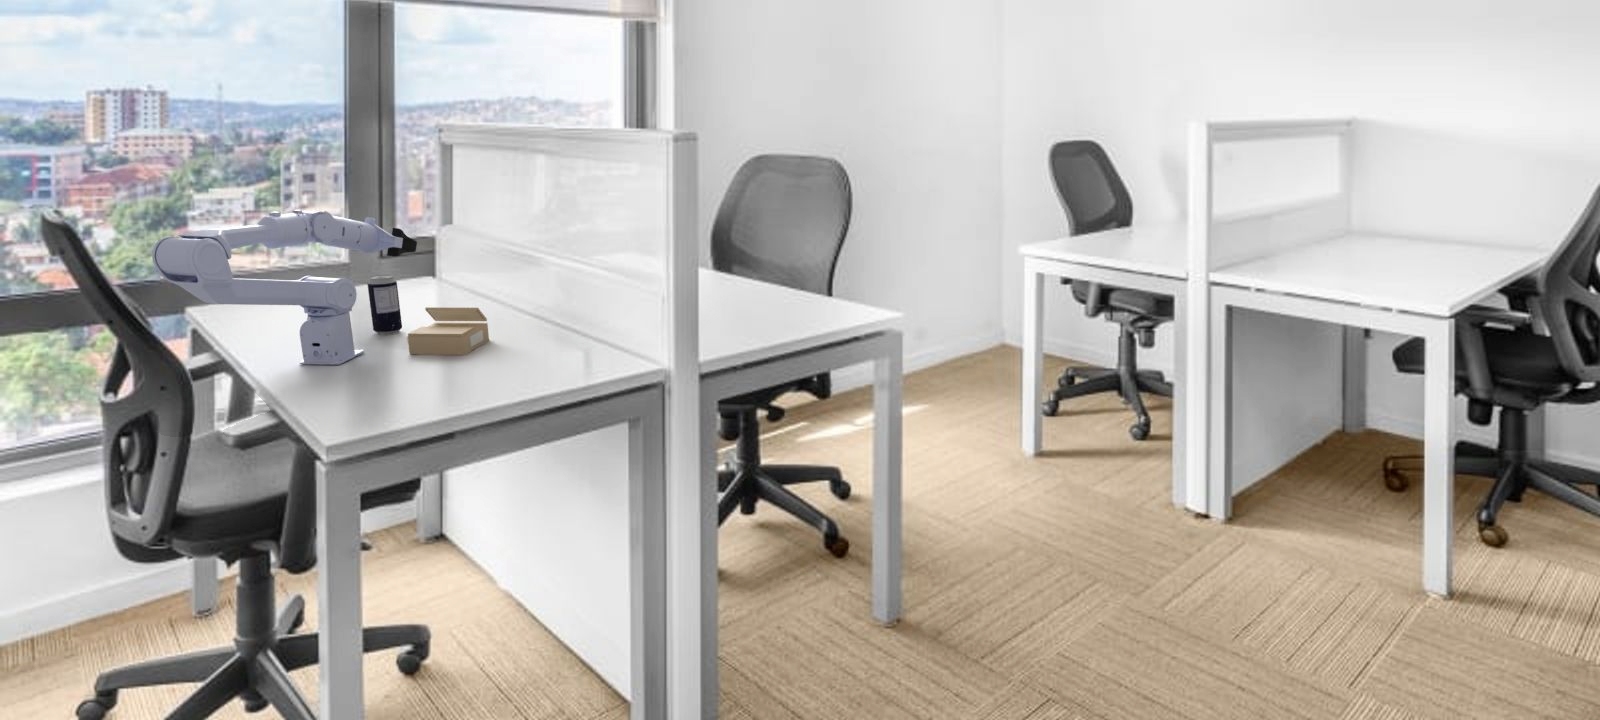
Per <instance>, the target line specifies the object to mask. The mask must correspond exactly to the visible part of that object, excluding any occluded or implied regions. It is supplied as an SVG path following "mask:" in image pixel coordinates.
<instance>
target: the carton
mask: <svg viewBox="0 0 1600 720" xmlns="http://www.w3.org/2000/svg"><path fill="white" fill-rule="evenodd" d="M489 335H490V334H489V325H488V322H434V323H431V324H430V325H427V326H420V327H418V328H416V329H414V330H412V331H410V332H408V333H407V343H408V350H409V355H410V354H422V355H424V356H425V355H429V356H430V355H432V356H434V355H435V356H437V355H438V356H466V355H467V354H469V353H470V352H472V351H474V350H475V349H477V348H478V347H480V346H482V345H484V344H485V343H486V342H487V343H488V341H490V337H489Z"/></svg>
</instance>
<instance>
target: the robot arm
mask: <svg viewBox="0 0 1600 720" xmlns="http://www.w3.org/2000/svg"><path fill="white" fill-rule="evenodd" d="M177 236H178V237H176V236H165V237H163V238H161V239H159V240H158V241H157V242H156V243H155V244H154V246H153V248H152V252H151V253H152V254H151V258H152V259H151V260H152V263H153V265H154V266H155V268H156V270H157V271H158V272H159V274H160V276H161V277H162V279H163V280H165V281H167V282H170V283H172V284H174V285H177V286H179V287H180V288H182V289H184V290H185V291H186V292H188V293H190V294H191V295H193V297H195V298H198V299H199V300H200V301H202V302H203V303H207V304H211V305H213V304H214V305H237V306H238V305H241V306H242V305H245V306H247V305H248V306H249V305H250V306H251V305H252V306H253V305H254V306H255V305H256V306H266V305H267V306H274V305H275V306H299V307H301V308H302V309H303V312H304V314H307V319H306V320H305V321H304V322H303V323H302V324H301V326H300V329H299V339H300V340H299V341H300V344H301V353H302V358H303V359H302V360H300V361H299V365H342V364H343V363H345V362H348V361H349V360H352V359H353V358H355V357H358V356H359V355H361V354H364V353H365V350H364V349H355V345H354V339H353V338H354V337H353V329H352V322H351V315H350V312H353V307H354V306H355V304H356V302H357V295H358V294H357V288H356V286H355V284H354V283H353V281H352V280H350V279H348V278H346V277H338V278H337V277H336V278H335V277H319V276H312V275H305V276H302V277H301V278H299V279H296V280H295V279H293V280H292V279H291V280H287V279H266V278H265V279H263V278H261V279H260V278H236V277H235V278H234V275H233V274H232V269H231V266H230V262H229V260H231V258H232V249H234V250H235V249H237V248H238V249H239V248H243V247H248V246H253V245H259V244H262V246H264V247H265V248H268V249H271V250H274V249H279V248H286V247H293V246H300V245H304V244H305V243H313V244H314V243H317V244H322V245H325V246H328V247H334V248H340V249H345V250H349V251H350V250H352V251H354V252H360V253H362V254H373V253H376V252H380V251H383V250H387V253H386V256H388V257H400V256H401V255H403V254H406V253H414V252H416V251H417V246H418V245H417V244H418V241H417V240H415V239H414V238H411V237H409V236H408V235H406V234H405V232H404V231H403V230H402V229H401V228H398V227H392V232H391V233H389V232H387V231H386V230H385V229H383V228H381V227H380V226H379V225H377V224H376V219H375V218H374V217H365V219H364V221H360V220H354V219H349V218H344V217H341V216H336V215H332V214H331V213H330V212H328V211H326V210H324V211H318V210H317V211H314V210H311V211H310V210H301V209H295V210H292V211H291V212H290V213H285V214H283V213H282V212H281V211H271V212H270V211H269V212H268V215H266V216H263V217H261V218H260V219H259V220H258V222H257V224H252V225H243V226H231V227H230V226H229V227H220V228H219V227H217V228H208V229H200V230H196V231H189V232H182V233H180V234H178V235H177Z"/></svg>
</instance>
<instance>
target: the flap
mask: <svg viewBox="0 0 1600 720" xmlns="http://www.w3.org/2000/svg"><path fill="white" fill-rule="evenodd" d="M424 310H425V311H426V312H427V314H428V315H429V316H430V317H431V318H432V319H433V321H434V322H487V321H488V319H487V317H486V316H485V314H484V313H483V312H482V311H481V309H480V308H479V307H425V309H424Z"/></svg>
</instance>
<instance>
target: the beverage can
mask: <svg viewBox="0 0 1600 720" xmlns="http://www.w3.org/2000/svg"><path fill="white" fill-rule="evenodd" d="M367 291H368V299H369V306H370V314H371V320H372V321H371V322H372V323H371V324H372V330H373V332H375V333H377V335H379V336H380V335H381V336H389V335H395V334H398V333H399V332H400V330H401V329H402V328H403V323H402V316H401V308H400V299H399V298H400V297H399V291H398V281H397V280H396V278H395V276H394V274H378V275H372V276H368V282H367Z"/></svg>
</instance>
